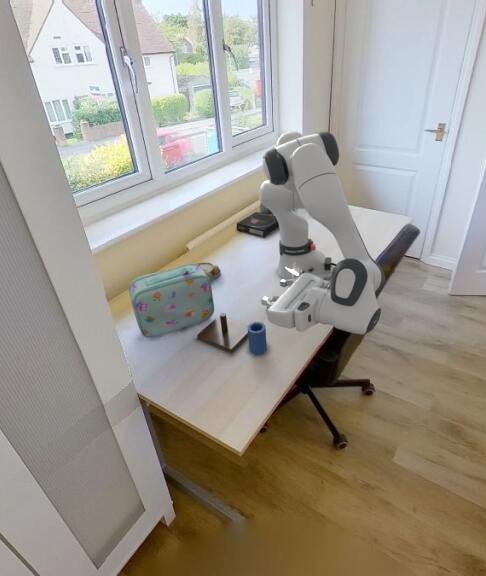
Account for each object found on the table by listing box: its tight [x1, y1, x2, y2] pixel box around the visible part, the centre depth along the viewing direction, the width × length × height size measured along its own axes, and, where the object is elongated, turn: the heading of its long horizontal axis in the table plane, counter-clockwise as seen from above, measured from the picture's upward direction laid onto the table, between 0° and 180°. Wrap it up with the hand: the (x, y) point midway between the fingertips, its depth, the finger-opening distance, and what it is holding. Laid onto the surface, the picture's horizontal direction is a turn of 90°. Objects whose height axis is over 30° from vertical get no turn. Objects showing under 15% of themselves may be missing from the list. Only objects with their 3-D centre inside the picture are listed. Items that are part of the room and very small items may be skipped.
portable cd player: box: [235, 211, 279, 239], centre depth 198 cm, size 16×17×4 cm
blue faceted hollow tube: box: [247, 321, 268, 356], centre depth 122 cm, size 5×5×9 cm
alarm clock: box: [196, 261, 222, 283], centre depth 161 cm, size 11×5×15 cm
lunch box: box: [128, 263, 215, 339], centre depth 131 cm, size 27×10×21 cm, turn 117°
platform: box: [196, 312, 248, 355], centre depth 128 cm, size 14×12×9 cm
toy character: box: [265, 295, 280, 312], centre depth 140 cm, size 4×8×6 cm, turn 154°
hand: (272, 290), depth 109 cm, fingers open, 8 cm apart
